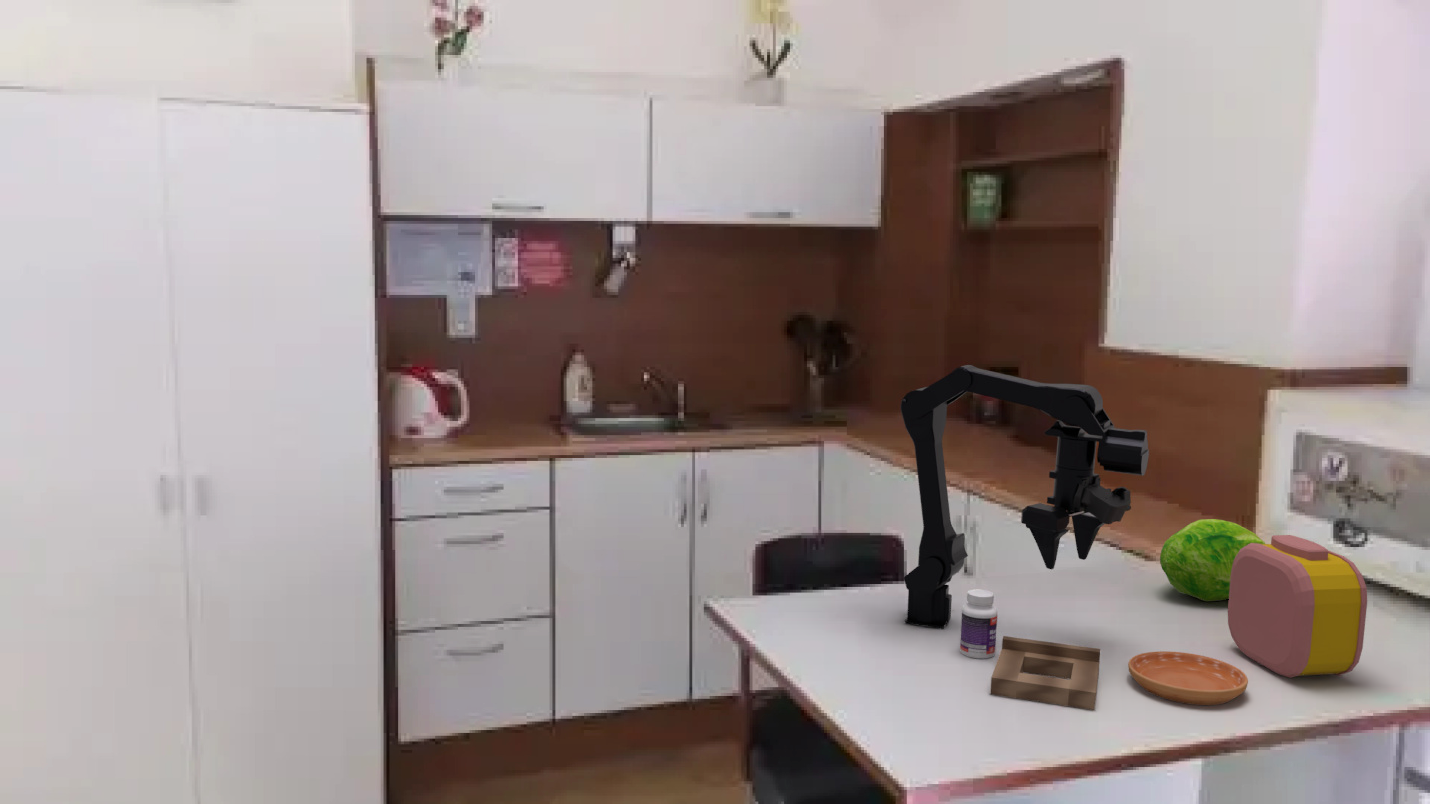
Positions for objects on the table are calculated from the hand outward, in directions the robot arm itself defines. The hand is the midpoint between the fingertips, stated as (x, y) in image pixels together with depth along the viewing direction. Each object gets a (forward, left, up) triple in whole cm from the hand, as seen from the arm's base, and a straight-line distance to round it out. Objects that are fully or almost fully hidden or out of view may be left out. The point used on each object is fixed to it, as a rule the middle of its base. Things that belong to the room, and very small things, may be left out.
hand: (1066, 563), depth 177 cm
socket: (-1, -17, -14) cm, 22 cm away
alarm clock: (+33, +6, -14) cm, 36 cm away
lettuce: (+24, +39, -14) cm, 48 cm away
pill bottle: (-12, -8, -14) cm, 20 cm away
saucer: (+18, -10, -14) cm, 25 cm away
